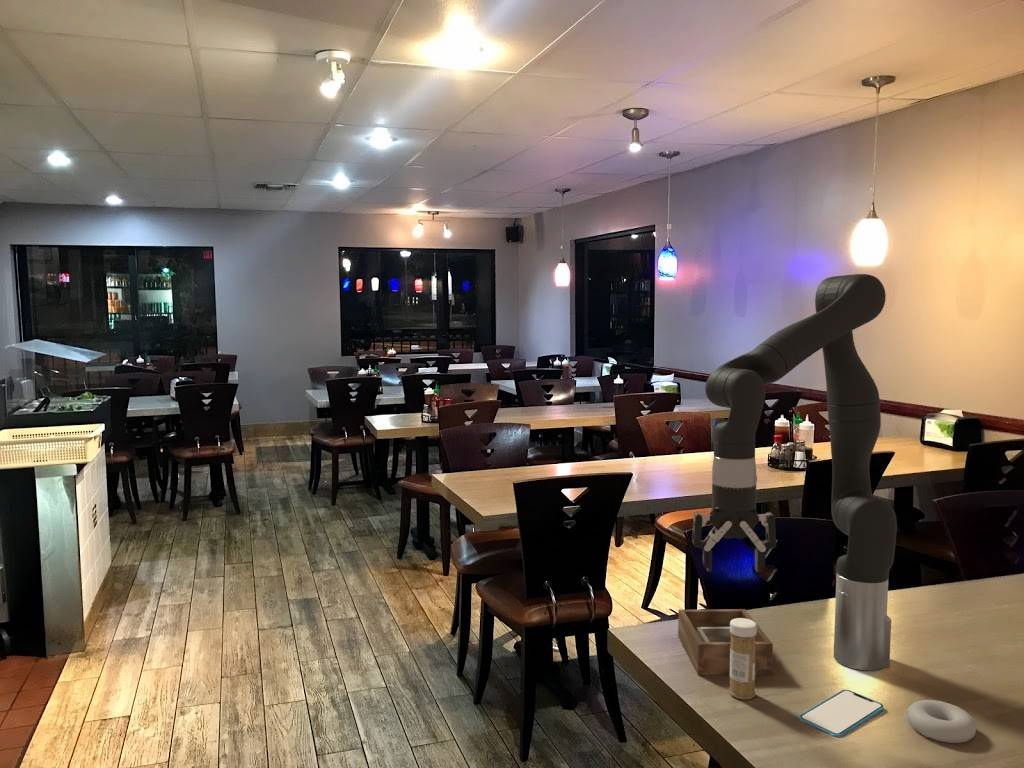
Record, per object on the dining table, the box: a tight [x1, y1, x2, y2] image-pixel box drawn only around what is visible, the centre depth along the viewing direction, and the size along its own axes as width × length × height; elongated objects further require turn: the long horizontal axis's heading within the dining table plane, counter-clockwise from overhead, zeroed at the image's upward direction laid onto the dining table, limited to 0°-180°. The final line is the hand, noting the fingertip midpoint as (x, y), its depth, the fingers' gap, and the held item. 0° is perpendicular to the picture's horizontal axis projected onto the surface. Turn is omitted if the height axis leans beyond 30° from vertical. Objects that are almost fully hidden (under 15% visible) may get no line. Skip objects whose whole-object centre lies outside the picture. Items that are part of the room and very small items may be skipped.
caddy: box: [677, 608, 774, 676], centre depth 154 cm, size 14×17×6 cm
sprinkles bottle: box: [728, 618, 758, 701], centre depth 137 cm, size 5×5×13 cm
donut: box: [906, 699, 977, 744], centre depth 126 cm, size 10×4×10 cm
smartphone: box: [798, 689, 885, 738], centre depth 131 cm, size 8×1×15 cm
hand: (733, 570), depth 137 cm, fingers open, 8 cm apart
